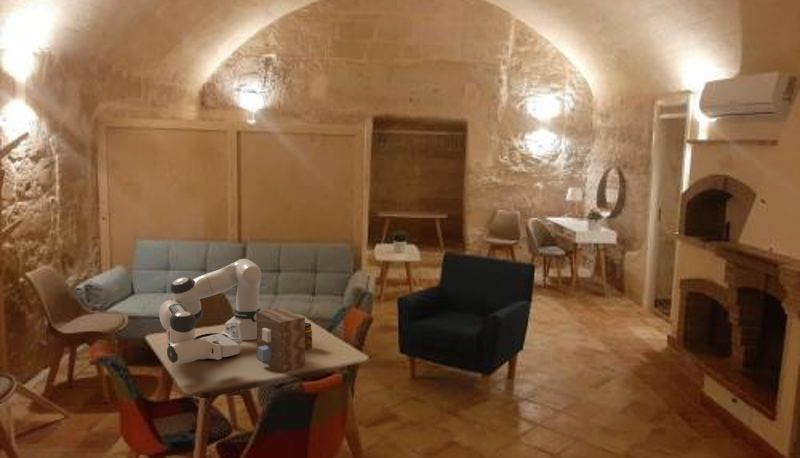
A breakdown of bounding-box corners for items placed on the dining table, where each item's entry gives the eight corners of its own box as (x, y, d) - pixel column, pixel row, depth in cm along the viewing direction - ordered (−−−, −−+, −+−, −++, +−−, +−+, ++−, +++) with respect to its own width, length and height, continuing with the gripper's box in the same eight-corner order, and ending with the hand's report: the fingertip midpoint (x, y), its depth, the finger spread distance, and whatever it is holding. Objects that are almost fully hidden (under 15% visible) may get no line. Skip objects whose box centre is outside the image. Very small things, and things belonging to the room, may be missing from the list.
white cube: (267, 342, 271) (267, 331, 270) (262, 339, 275) (261, 328, 274) (277, 340, 274) (277, 329, 273) (272, 337, 278) (272, 326, 277)
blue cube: (263, 361, 271) (262, 350, 270) (257, 358, 274) (257, 347, 274) (273, 358, 274) (273, 347, 273) (268, 355, 278) (267, 345, 277)
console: (280, 372, 267) (280, 322, 264) (257, 358, 284) (256, 311, 281) (305, 366, 275) (304, 317, 272) (280, 353, 291) (280, 307, 289)
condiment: (315, 349, 299) (315, 324, 297) (298, 352, 294) (298, 327, 292) (308, 345, 305) (308, 321, 303) (292, 348, 300) (292, 323, 298)
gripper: (199, 347, 265) (230, 341, 274) (219, 360, 250) (251, 354, 258) (199, 333, 264) (230, 327, 273) (219, 345, 249) (251, 339, 257)
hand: (240, 340), depth 266 cm, fingers closed
